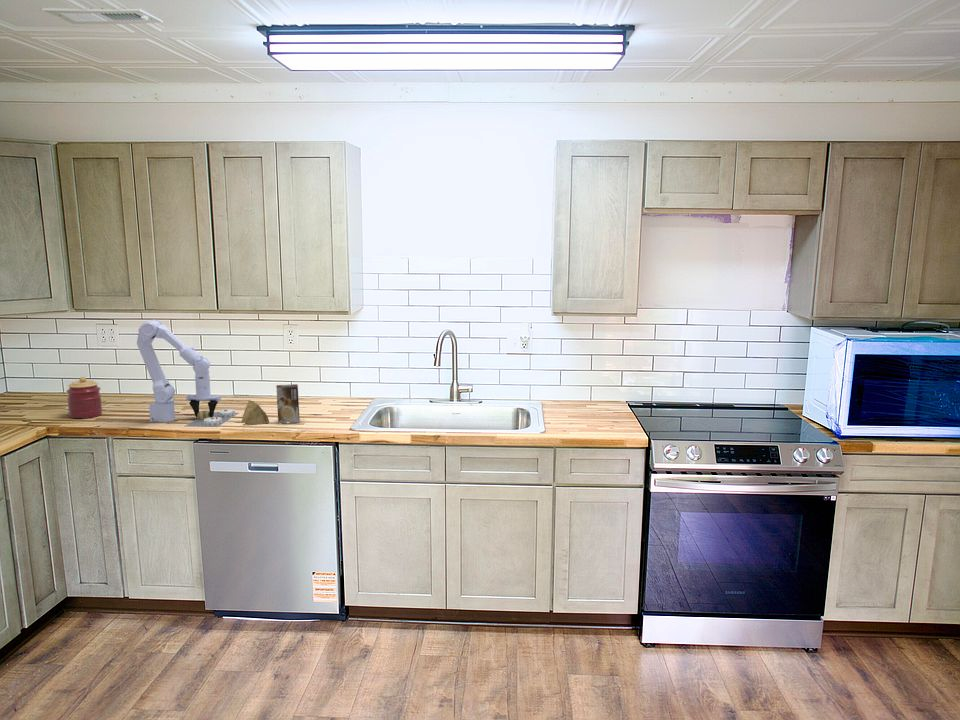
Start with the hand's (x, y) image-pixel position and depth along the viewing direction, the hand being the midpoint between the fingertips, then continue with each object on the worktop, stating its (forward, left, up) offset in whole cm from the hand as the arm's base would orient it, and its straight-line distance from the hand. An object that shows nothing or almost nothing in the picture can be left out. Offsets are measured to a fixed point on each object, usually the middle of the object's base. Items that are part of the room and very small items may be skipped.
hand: (204, 416), depth 287 cm
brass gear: (0, 0, -1) cm, 1 cm away
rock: (+23, -3, -2) cm, 24 cm away
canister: (-56, +5, -2) cm, 56 cm away
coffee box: (+36, +1, -2) cm, 37 cm away
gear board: (+4, -1, -2) cm, 4 cm away
